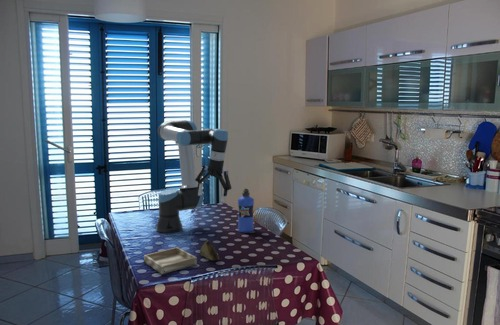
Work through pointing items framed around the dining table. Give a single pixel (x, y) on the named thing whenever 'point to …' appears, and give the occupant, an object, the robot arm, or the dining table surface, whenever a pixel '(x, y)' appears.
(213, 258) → the rock
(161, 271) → the box
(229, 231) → the dining table surface
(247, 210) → the blue plastic bottle
